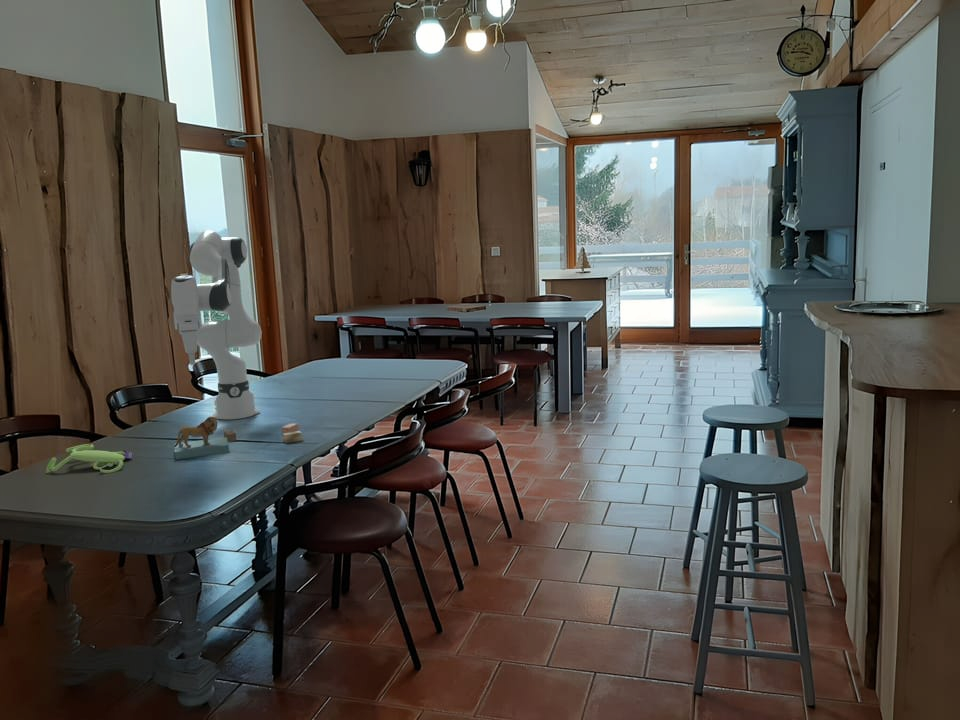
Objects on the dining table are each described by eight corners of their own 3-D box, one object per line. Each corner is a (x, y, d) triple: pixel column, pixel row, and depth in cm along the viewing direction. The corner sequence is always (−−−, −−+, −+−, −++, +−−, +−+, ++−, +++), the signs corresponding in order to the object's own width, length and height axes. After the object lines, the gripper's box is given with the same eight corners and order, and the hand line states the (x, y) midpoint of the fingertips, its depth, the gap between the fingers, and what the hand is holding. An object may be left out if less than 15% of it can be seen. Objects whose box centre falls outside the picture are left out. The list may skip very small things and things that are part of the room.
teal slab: (175, 450, 269) (174, 443, 269) (227, 443, 275) (226, 436, 275) (175, 459, 258) (174, 452, 258) (229, 452, 264) (228, 444, 264)
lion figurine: (217, 439, 271) (215, 414, 270) (220, 443, 267) (218, 417, 265) (172, 446, 264) (170, 420, 263) (175, 450, 260) (172, 423, 258)
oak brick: (285, 443, 273) (285, 435, 272) (283, 441, 275) (282, 433, 275) (302, 440, 276) (302, 432, 275) (300, 438, 278) (299, 430, 278)
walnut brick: (224, 439, 283) (223, 431, 283) (232, 437, 284) (231, 429, 284) (228, 442, 278) (227, 434, 277) (236, 441, 279) (235, 432, 279)
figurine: (76, 457, 268) (74, 441, 267) (147, 458, 263) (145, 442, 262) (37, 474, 250) (35, 457, 249) (113, 475, 245) (110, 457, 244)
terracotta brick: (291, 431, 290) (291, 423, 290) (298, 431, 289) (298, 423, 288) (282, 435, 284) (281, 427, 284) (289, 435, 283) (288, 427, 283)
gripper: (178, 321, 278) (182, 359, 280) (178, 326, 259) (183, 367, 262) (196, 319, 280) (200, 357, 283) (198, 325, 262) (202, 365, 264)
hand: (192, 362), depth 272 cm, fingers open, 8 cm apart
